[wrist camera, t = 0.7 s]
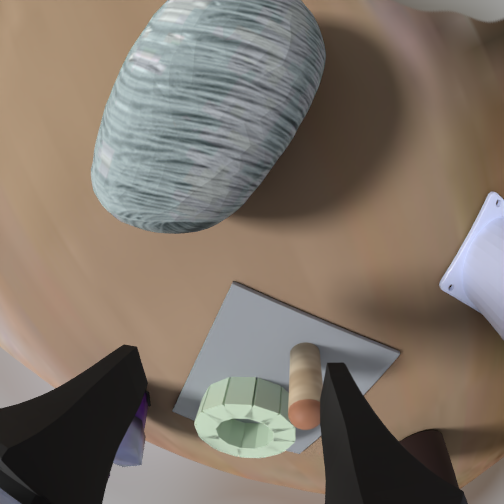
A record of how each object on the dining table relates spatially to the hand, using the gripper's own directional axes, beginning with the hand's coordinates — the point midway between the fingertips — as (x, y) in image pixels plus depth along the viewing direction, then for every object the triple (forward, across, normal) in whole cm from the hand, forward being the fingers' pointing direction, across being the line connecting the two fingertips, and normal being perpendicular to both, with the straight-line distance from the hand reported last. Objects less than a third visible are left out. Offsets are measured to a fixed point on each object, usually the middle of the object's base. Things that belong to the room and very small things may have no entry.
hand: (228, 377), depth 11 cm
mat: (+10, -1, +11) cm, 15 cm away
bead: (+10, +1, +14) cm, 17 cm away
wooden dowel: (+10, -4, +7) cm, 12 cm away
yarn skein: (+10, +2, -10) cm, 15 cm away
